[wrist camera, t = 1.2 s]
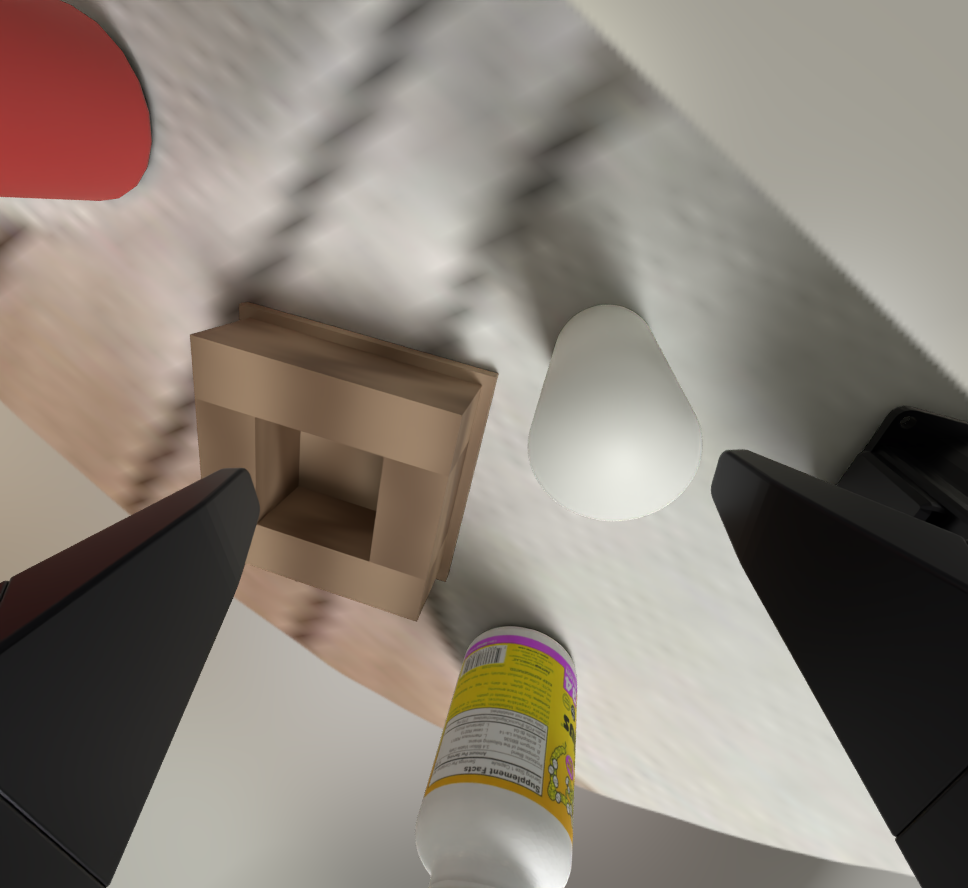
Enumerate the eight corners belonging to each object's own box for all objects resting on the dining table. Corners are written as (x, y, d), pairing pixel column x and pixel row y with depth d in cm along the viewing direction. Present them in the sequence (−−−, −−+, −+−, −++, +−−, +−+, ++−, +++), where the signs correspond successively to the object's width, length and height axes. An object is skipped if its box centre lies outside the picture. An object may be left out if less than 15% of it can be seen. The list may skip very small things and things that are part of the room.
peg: (671, 319, 18) (734, 398, 10) (633, 412, 20) (661, 540, 12) (570, 292, 18) (554, 348, 10) (542, 386, 20) (510, 493, 12)
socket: (498, 373, 20) (478, 406, 17) (448, 574, 26) (424, 632, 22) (247, 301, 21) (177, 318, 18) (251, 509, 27) (198, 554, 23)
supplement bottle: (561, 713, 29) (541, 1032, 17) (459, 680, 30) (375, 968, 18) (592, 640, 26) (591, 970, 14) (477, 606, 26) (390, 895, 15)
